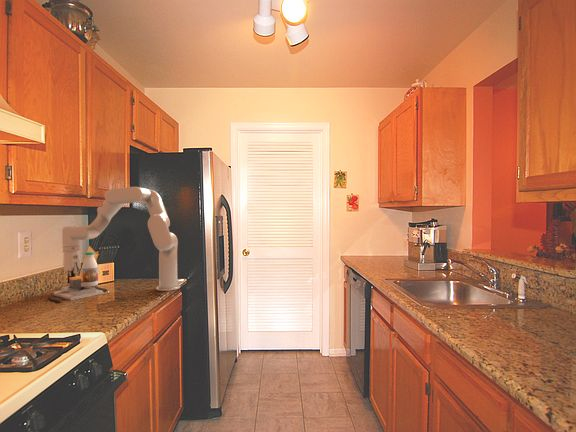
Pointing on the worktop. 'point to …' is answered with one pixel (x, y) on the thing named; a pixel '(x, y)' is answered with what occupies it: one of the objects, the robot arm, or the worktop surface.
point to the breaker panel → (77, 292)
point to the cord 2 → (100, 289)
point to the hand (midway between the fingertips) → (71, 283)
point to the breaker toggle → (75, 282)
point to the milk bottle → (90, 270)
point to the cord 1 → (55, 299)
